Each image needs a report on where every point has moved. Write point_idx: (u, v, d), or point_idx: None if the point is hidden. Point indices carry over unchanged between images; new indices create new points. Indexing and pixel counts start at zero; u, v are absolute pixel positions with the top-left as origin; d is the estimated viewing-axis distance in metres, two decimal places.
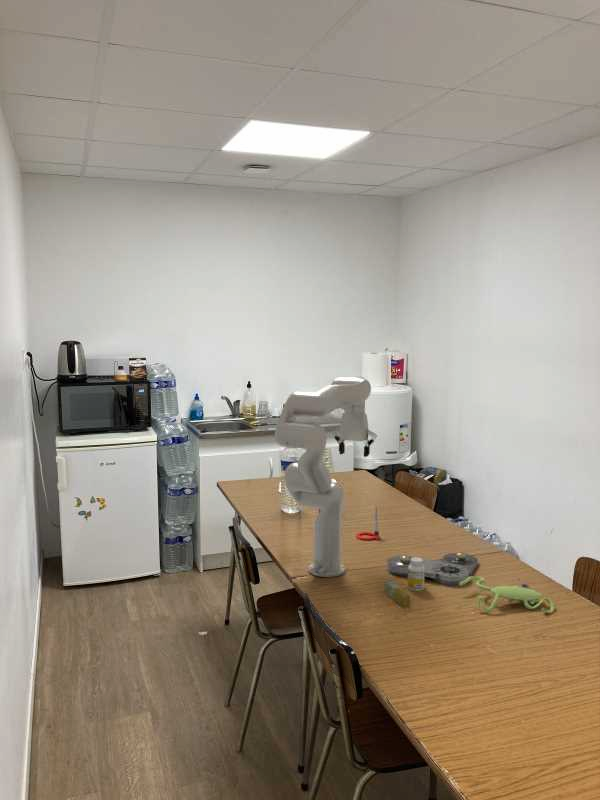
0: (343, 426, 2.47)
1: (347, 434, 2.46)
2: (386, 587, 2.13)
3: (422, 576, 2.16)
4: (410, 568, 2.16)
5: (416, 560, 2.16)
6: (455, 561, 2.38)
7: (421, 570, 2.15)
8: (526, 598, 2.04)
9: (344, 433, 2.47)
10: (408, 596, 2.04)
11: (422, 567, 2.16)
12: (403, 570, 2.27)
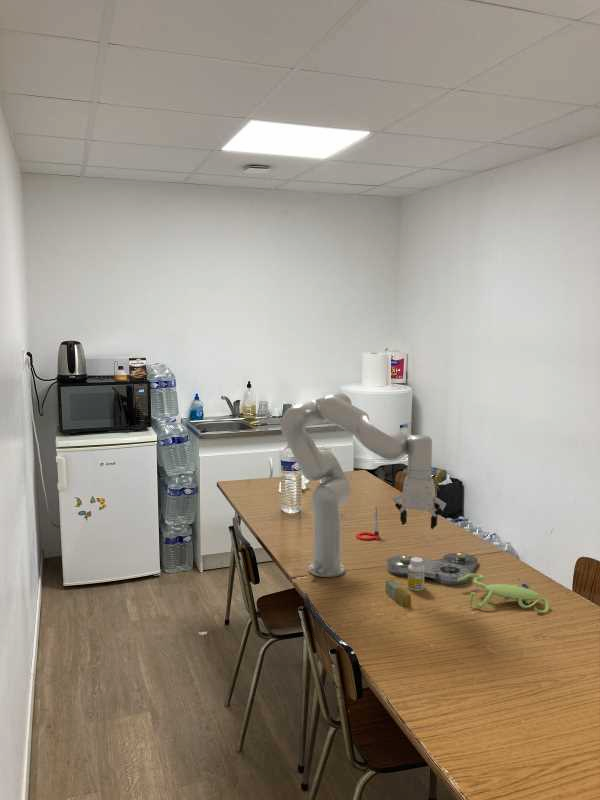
0: (406, 493, 2.13)
1: (411, 502, 2.13)
2: (387, 587, 2.13)
3: (422, 576, 2.16)
4: (410, 568, 2.16)
5: (416, 560, 2.16)
6: (455, 561, 2.38)
7: (421, 570, 2.15)
8: (521, 597, 2.04)
9: (407, 501, 2.13)
10: (409, 596, 2.04)
11: (422, 567, 2.16)
12: (403, 570, 2.27)
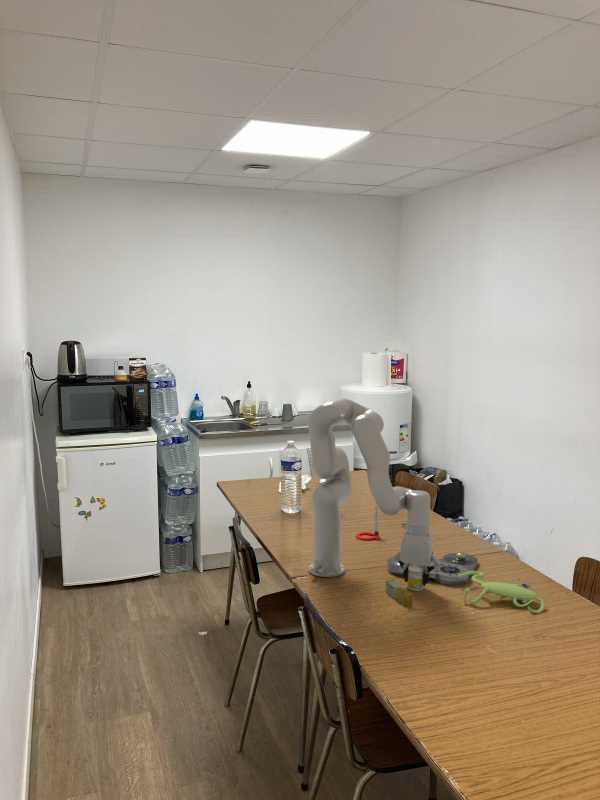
0: (404, 548, 2.16)
1: (409, 557, 2.15)
2: (388, 587, 2.13)
3: (422, 576, 2.16)
4: (410, 568, 2.16)
5: None
6: (455, 561, 2.38)
7: (421, 570, 2.15)
8: (516, 596, 2.05)
9: (405, 556, 2.16)
10: (411, 596, 2.05)
11: (422, 567, 2.16)
12: (403, 570, 2.27)
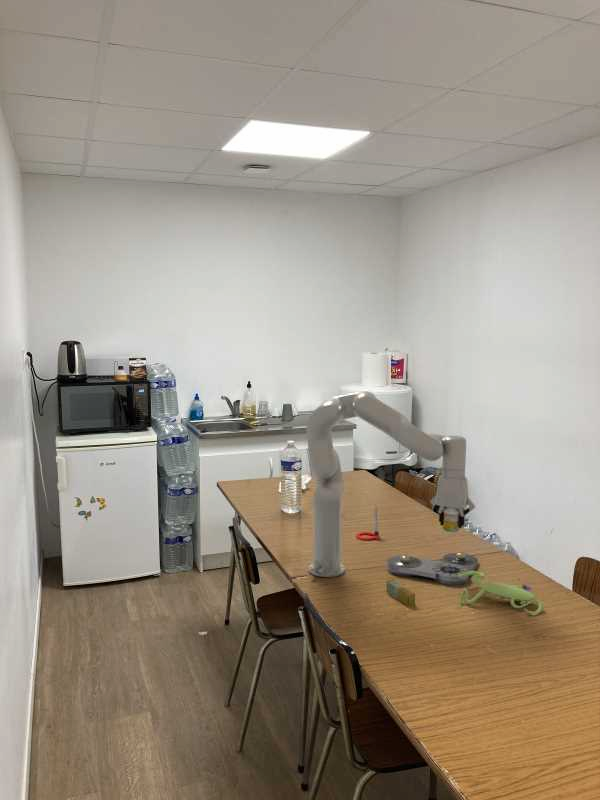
0: (440, 491, 2.22)
1: (445, 500, 2.21)
2: (388, 587, 2.13)
3: (458, 519, 2.22)
4: (446, 511, 2.22)
5: None
6: (455, 561, 2.38)
7: (457, 513, 2.21)
8: (513, 597, 2.04)
9: (441, 499, 2.22)
10: (413, 595, 2.05)
11: (458, 510, 2.22)
12: (403, 570, 2.27)
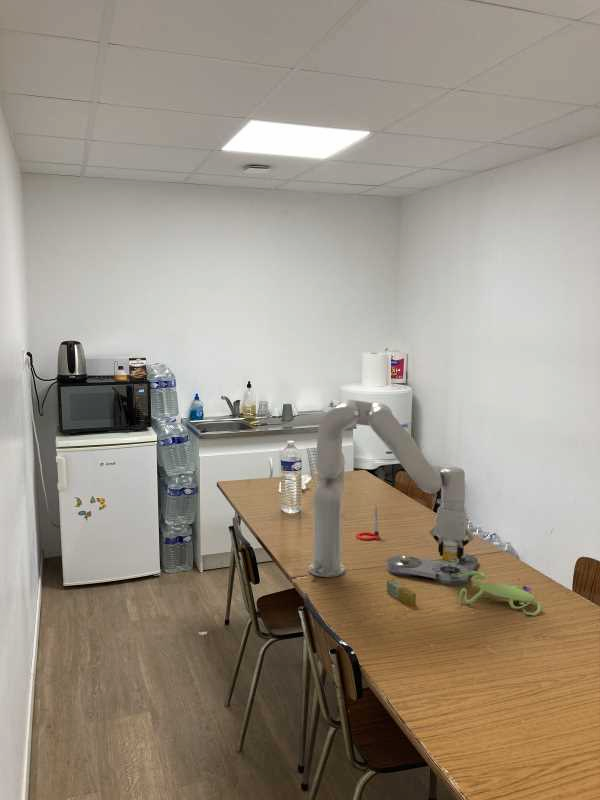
0: (440, 522, 2.23)
1: (444, 531, 2.22)
2: (389, 587, 2.13)
3: (457, 550, 2.23)
4: (445, 542, 2.23)
5: None
6: None
7: (456, 544, 2.22)
8: (512, 598, 2.04)
9: (441, 530, 2.23)
10: (414, 595, 2.05)
11: (457, 541, 2.23)
12: (403, 570, 2.27)
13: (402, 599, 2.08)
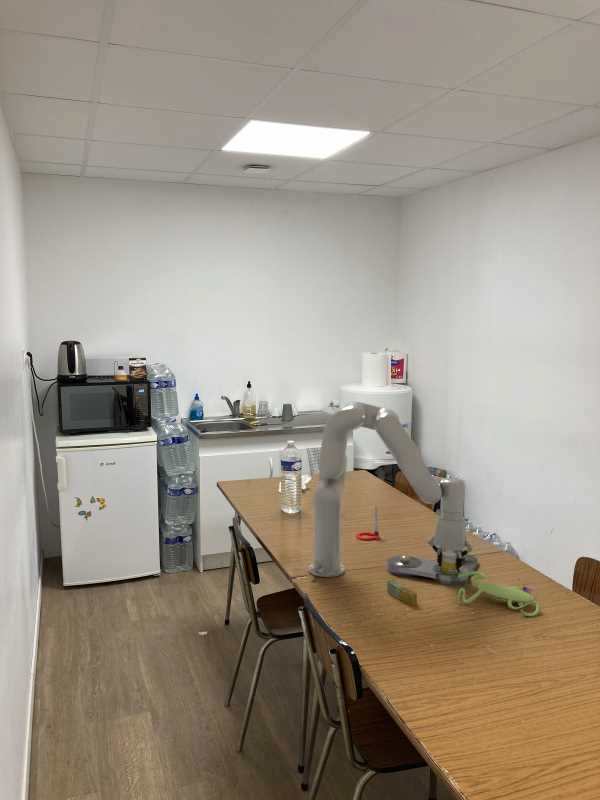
0: (439, 533, 2.23)
1: (443, 542, 2.23)
2: (389, 587, 2.13)
3: (456, 560, 2.23)
4: (444, 553, 2.24)
5: None
6: None
7: (455, 554, 2.23)
8: (511, 598, 2.03)
9: (440, 541, 2.23)
10: (416, 595, 2.05)
11: (456, 552, 2.24)
12: (403, 570, 2.27)
13: (403, 599, 2.08)
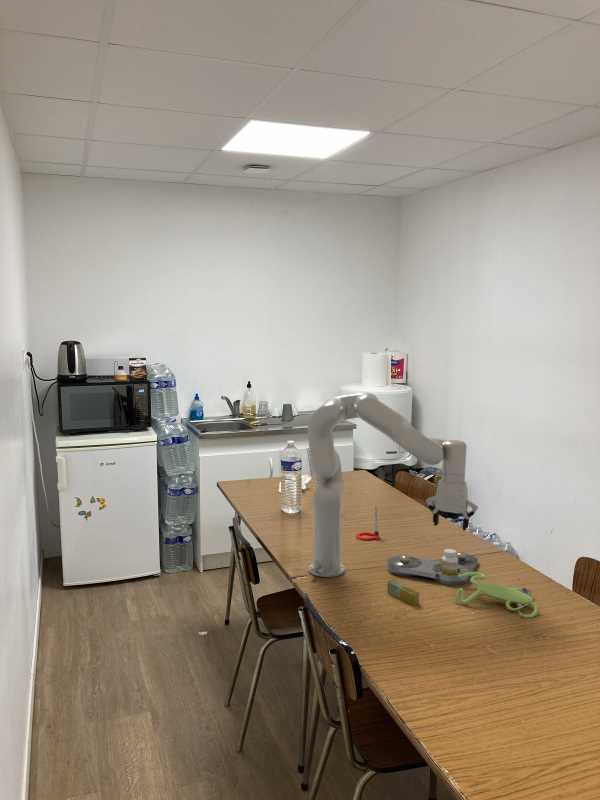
0: (440, 495, 2.22)
1: (444, 505, 2.21)
2: (390, 587, 2.13)
3: (455, 567, 2.24)
4: (444, 559, 2.24)
5: (449, 551, 2.24)
6: None
7: (455, 561, 2.23)
8: (509, 599, 2.03)
9: (441, 503, 2.22)
10: (417, 594, 2.06)
11: (455, 558, 2.24)
12: (403, 570, 2.27)
13: (405, 599, 2.08)
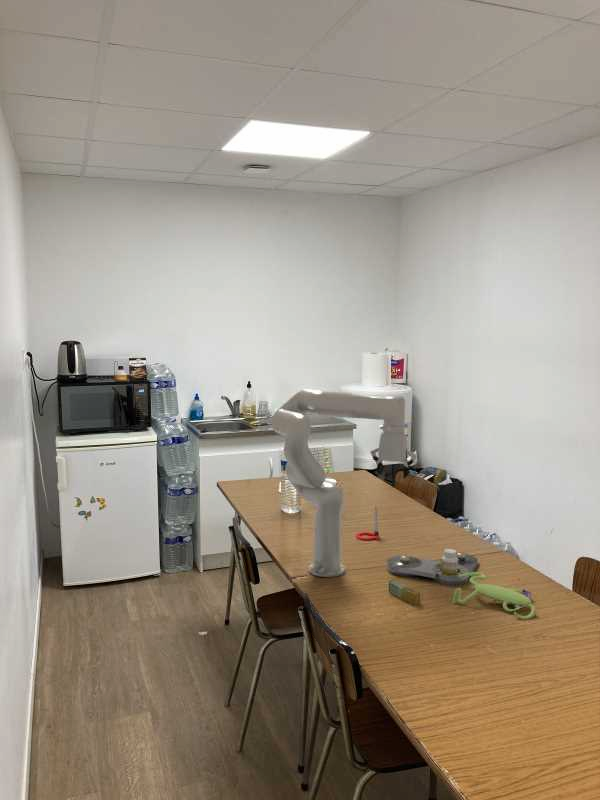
0: (382, 446, 2.42)
1: (386, 454, 2.41)
2: (391, 587, 2.14)
3: (455, 567, 2.24)
4: (444, 559, 2.24)
5: (449, 551, 2.24)
6: None
7: (455, 561, 2.23)
8: (507, 600, 2.02)
9: (383, 453, 2.42)
10: (419, 594, 2.06)
11: (455, 558, 2.24)
12: (403, 570, 2.27)
13: (406, 598, 2.08)
